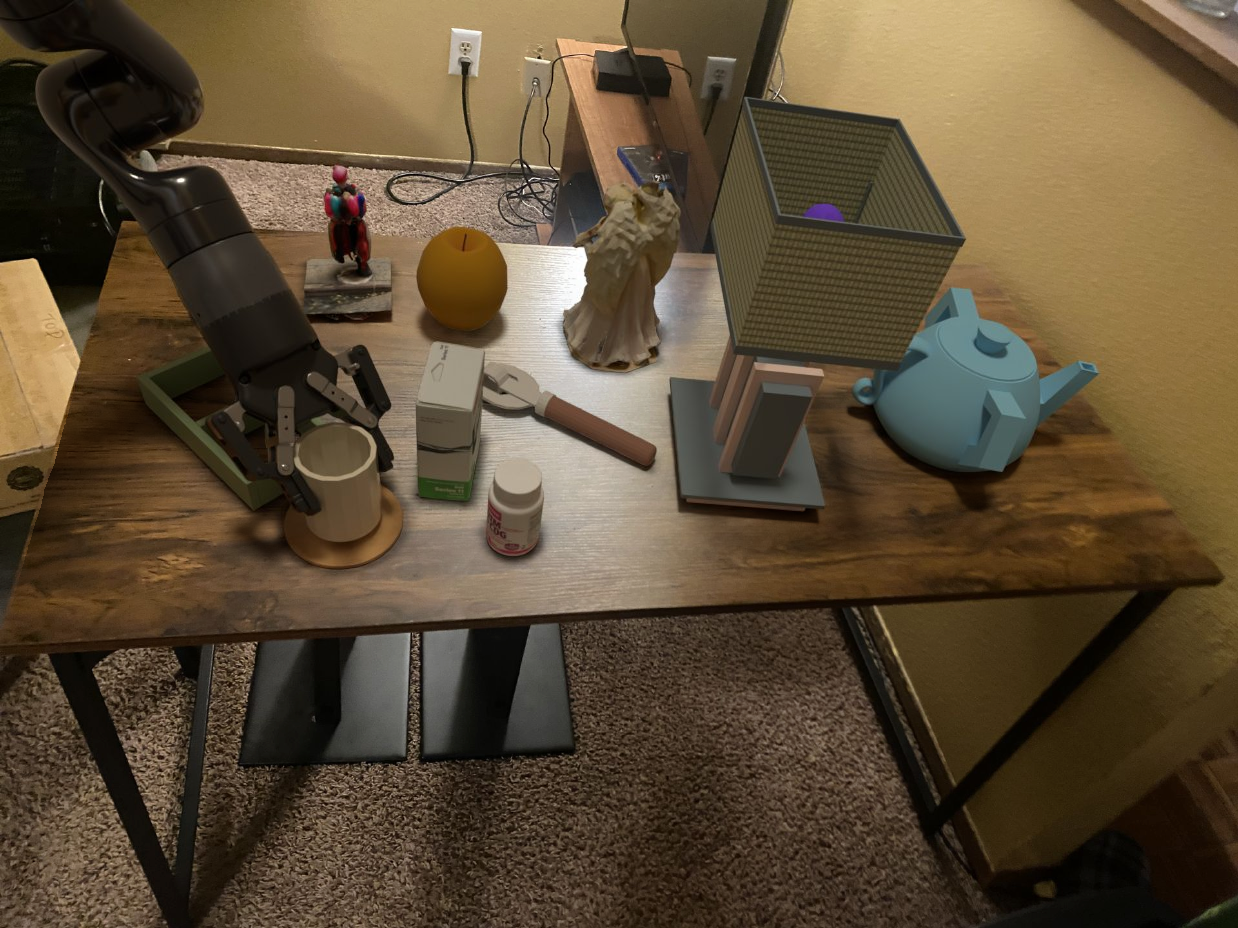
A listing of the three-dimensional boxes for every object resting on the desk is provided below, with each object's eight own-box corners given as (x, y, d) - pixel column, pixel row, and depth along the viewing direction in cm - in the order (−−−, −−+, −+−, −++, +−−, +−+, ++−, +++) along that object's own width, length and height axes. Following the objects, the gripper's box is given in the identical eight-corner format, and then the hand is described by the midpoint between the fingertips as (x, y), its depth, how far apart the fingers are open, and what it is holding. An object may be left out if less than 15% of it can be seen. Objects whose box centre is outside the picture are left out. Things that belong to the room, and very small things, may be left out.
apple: (431, 357, 90) (429, 265, 82) (407, 303, 96) (403, 212, 87) (516, 343, 94) (523, 254, 85) (488, 292, 99) (492, 204, 91)
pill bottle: (475, 544, 74) (478, 482, 68) (501, 508, 77) (505, 446, 71) (523, 565, 73) (530, 505, 67) (547, 528, 77) (556, 467, 71)
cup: (316, 551, 70) (304, 489, 64) (296, 496, 73) (283, 433, 67) (391, 528, 72) (386, 467, 67) (368, 477, 76) (362, 414, 70)
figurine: (567, 300, 101) (588, 142, 86) (662, 318, 101) (698, 164, 87) (551, 363, 92) (571, 200, 78) (655, 382, 93) (693, 224, 78)
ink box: (470, 503, 77) (473, 411, 69) (416, 497, 77) (412, 404, 68) (482, 437, 83) (486, 344, 75) (432, 430, 83) (431, 337, 74)
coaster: (302, 584, 69) (301, 581, 69) (271, 498, 74) (271, 495, 74) (419, 547, 73) (419, 544, 73) (382, 468, 79) (382, 465, 78)
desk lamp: (818, 528, 82) (970, 239, 58) (677, 517, 80) (774, 214, 56) (788, 400, 94) (902, 119, 70) (665, 389, 92) (740, 96, 69)
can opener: (666, 438, 87) (672, 417, 85) (646, 475, 83) (651, 455, 81) (490, 369, 90) (491, 347, 88) (463, 402, 86) (463, 380, 84)
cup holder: (342, 460, 78) (338, 434, 76) (253, 510, 73) (246, 484, 71) (234, 364, 85) (228, 337, 82) (145, 404, 80) (135, 376, 77)
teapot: (960, 511, 86) (1028, 415, 76) (822, 402, 95) (866, 303, 85) (1049, 441, 96) (1119, 348, 86) (916, 348, 105) (966, 254, 95)
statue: (309, 274, 99) (290, 146, 89) (391, 273, 101) (382, 149, 91) (303, 322, 91) (281, 188, 81) (392, 321, 93) (381, 190, 83)
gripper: (164, 333, 58) (290, 537, 62) (340, 262, 66) (440, 446, 70) (143, 353, 64) (259, 538, 68) (307, 285, 72) (401, 454, 76)
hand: (351, 490), depth 69 cm, fingers closed on cup, 6 cm apart
